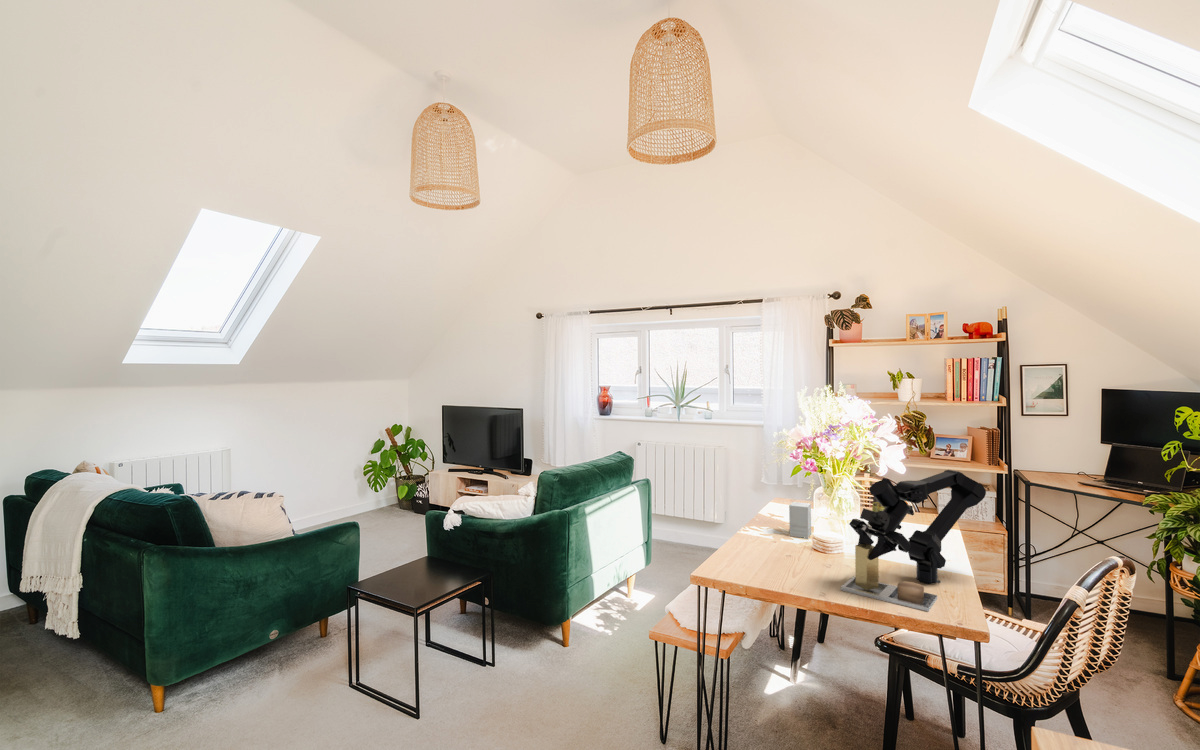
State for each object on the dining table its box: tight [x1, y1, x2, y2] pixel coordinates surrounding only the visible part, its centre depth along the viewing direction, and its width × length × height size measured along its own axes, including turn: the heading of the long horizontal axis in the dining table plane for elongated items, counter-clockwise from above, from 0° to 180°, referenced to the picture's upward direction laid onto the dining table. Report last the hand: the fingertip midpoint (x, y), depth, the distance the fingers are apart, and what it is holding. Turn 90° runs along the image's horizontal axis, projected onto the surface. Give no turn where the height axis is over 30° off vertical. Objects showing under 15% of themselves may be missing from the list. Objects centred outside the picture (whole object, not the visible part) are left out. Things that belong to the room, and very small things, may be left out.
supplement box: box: [788, 501, 812, 539], centre depth 229 cm, size 7×7×13 cm
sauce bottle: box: [871, 496, 885, 512], centre depth 237 cm, size 7×6×20 cm
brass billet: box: [854, 544, 880, 590], centre depth 169 cm, size 4×4×12 cm
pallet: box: [840, 576, 938, 612], centre depth 165 cm, size 12×23×2 cm, turn 49°
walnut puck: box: [897, 581, 925, 604], centre depth 162 cm, size 7×7×4 cm
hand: (863, 556), depth 169 cm, fingers closed on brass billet, 4 cm apart
